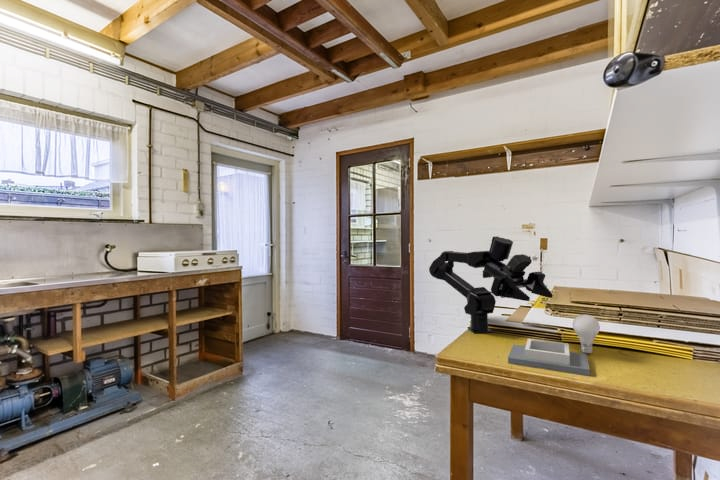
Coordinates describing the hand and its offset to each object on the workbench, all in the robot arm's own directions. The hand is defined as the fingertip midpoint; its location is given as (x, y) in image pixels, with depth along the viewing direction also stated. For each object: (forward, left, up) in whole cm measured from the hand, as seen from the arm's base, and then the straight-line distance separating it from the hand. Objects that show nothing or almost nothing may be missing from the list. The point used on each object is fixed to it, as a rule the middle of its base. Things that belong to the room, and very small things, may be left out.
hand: (540, 298), depth 96 cm
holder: (+6, -2, -16) cm, 17 cm away
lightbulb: (+2, +12, -16) cm, 20 cm away
